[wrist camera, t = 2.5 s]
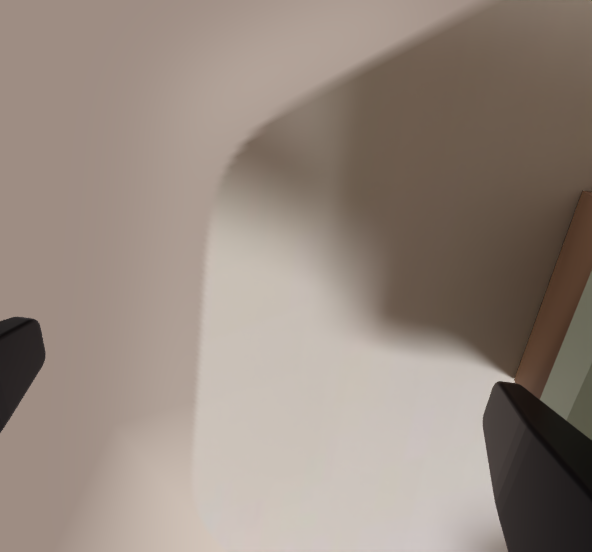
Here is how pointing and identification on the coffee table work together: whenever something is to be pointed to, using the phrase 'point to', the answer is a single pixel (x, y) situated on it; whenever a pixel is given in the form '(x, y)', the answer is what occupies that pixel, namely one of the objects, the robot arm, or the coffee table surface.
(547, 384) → the green rimmed tray
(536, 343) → the beam stand
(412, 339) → the coffee table surface
